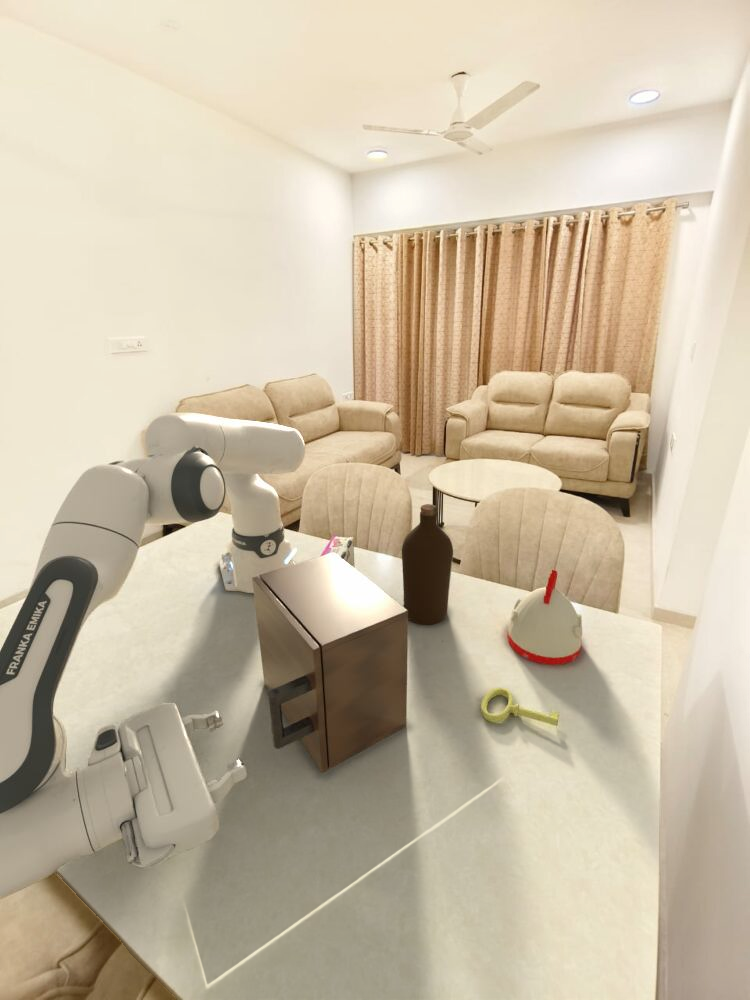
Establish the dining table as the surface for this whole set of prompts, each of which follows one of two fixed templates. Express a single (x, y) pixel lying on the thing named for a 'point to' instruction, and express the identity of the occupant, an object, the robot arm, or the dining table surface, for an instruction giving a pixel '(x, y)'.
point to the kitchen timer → (546, 626)
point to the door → (291, 676)
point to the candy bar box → (341, 548)
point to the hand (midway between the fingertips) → (232, 741)
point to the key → (514, 709)
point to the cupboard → (350, 649)
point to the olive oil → (427, 569)
